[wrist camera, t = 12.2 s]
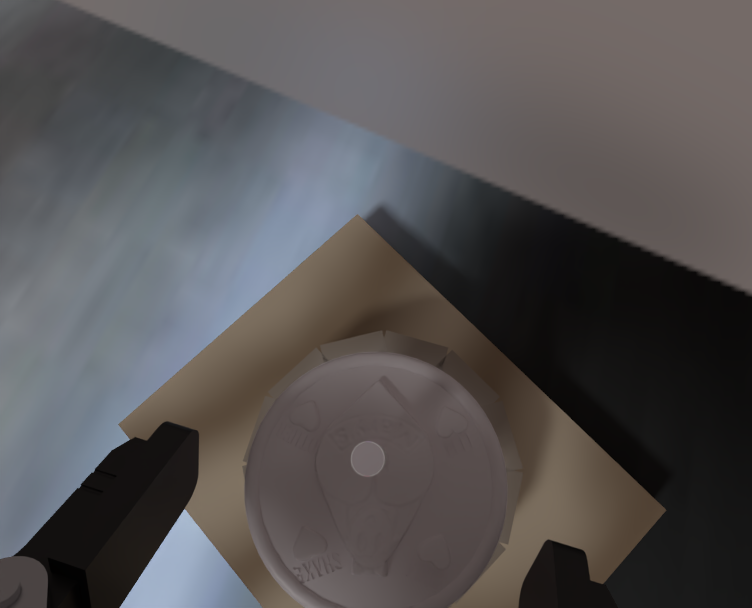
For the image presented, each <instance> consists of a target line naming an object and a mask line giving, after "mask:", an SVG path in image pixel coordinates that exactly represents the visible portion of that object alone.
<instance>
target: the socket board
mask: <svg viewBox="0 0 752 608" xmlns="http://www.w3.org/2000/svg"><path fill="white" fill-rule="evenodd" d="M362 352H389V353H397V354H402V355H406V356H410V357H413V358H417V359H419V360H422V361H424V362H427V363H429V364H431V365H433V366H435V367H437V368H439V369H440V370H442V371H443V372H445V373H446V374H448V375H450V376H451V377H452V378H453V379H455V380H456V381H457V382H458V383H460V384H461V385H462V386H463V387H464V388H465V389H466V390H467V391H468V392H469V393H470V394H471V395H472V396H473V398H474V399H475V400H476V401H477V402H478V404H479V405H480V406H481V408H482V409H483V411H484V412H485V414H486V415H487V417H488V419H489V421H490V422H491V424H492V426H493V428H494V431H495V433H496V435H497V437H498V440H499V443H500V446H501V449H502V453H503V457H504V461H505V466H506V473H507V485H508V495H507V508H506V516H505V521H504V525H503V530H502V533H501V536H500V539H499V542H498V544H497V547H496V549H495V551H494V554H493V556H492V558H491V559H490V561H489V563H488V565H487V566H486V568H485V570H484V571H483V572H482V574H481V575H480V577H479V578H478V580H477V581H476V582H475V583H474V584H473V585H472V586H471V588H470V589H469V590H468V591H467V592H466V593H465V594H464V595H463V596H461V597H460V598H459V599H458V600H457V601H456V602H454V603H453V604H452V605H450V606H449V607H448V608H519V597H520V592H521V587H522V584H523V581H524V579H525V577H526V575H527V573H528V571H529V570H530V568H531V566H532V564H533V562H534V560H535V559H536V557H537V555H538V553H539V551H540V549H541V548H542V546H543V544H544V542H545V541H546V540H548V539H549V540H553V541H556V542H559V543H562V544H566V545H569V546H572V547H575V548H579V549H582V550H584V552H585V553H586V556H587V561H588V567H589V574H590V580H591V581H595V582H598V583H601V584H603V583H604V582H605V581H606V580H607V578H608V577H609V576H610V575H611V574H612V573H613V571H614V570H615V569H616V568H617V567H618V566H619V565H620V563H621V562H622V561H623V560H624V559H625V558H626V556H627V555H628V554H629V553H630V552H631V551H632V549H633V548H634V547H635V546H636V545H637V544H638V542H639V541H640V540H641V539H642V538H643V537H644V535H645V534H646V533H647V532H648V531H649V530H650V528H651V527H652V526H653V525H654V524H655V523H656V521H657V520H658V519H659V518H660V517H661V516H662V514H663V513H664V512H665V511H666V509H665V508H664V507H662V506H661V505H660V504H659V503H658V502H657V501H656V500H655V499H654V498H653V497H652V496H651V495H650V494H649V493H648V492H647V491H646V490H645V489H644V488H643V487H642V486H641V485H640V484H638V483H637V482H636V481H635V480H634V479H633V478H632V477H631V476H630V475H629V474H628V473H627V472H626V471H625V470H624V469H623V468H622V467H621V466H620V465H619V464H618V463H617V462H616V461H614V460H613V459H612V458H611V457H610V456H609V455H608V454H607V453H606V452H605V451H604V450H603V449H602V448H601V447H600V446H599V445H598V444H597V443H596V442H595V441H594V440H593V439H592V438H590V437H589V436H588V435H587V434H586V433H585V432H584V431H583V430H582V429H581V428H580V427H579V426H578V425H577V424H576V423H575V422H574V421H573V420H572V419H571V418H570V417H569V416H568V415H566V414H565V413H564V412H563V411H562V410H561V409H560V408H559V407H558V406H557V405H556V404H555V403H554V402H553V401H552V400H551V399H550V398H549V397H548V396H547V395H546V394H545V393H544V392H542V391H541V390H540V389H539V388H538V387H537V386H536V385H535V384H534V383H533V382H532V381H531V380H530V379H529V378H528V377H527V376H526V375H525V374H524V373H523V372H522V371H521V370H520V369H518V368H517V367H516V366H515V365H514V364H513V363H512V362H511V361H510V360H509V359H508V358H507V357H506V356H505V355H504V354H503V353H502V352H501V351H500V350H499V349H498V348H497V347H496V346H494V345H493V344H492V343H491V342H490V341H489V340H488V339H487V338H486V337H485V336H484V335H483V334H482V333H481V332H480V331H479V330H478V329H477V328H476V327H475V326H474V325H473V324H472V323H470V322H469V321H468V320H467V319H466V318H465V317H464V316H463V315H462V314H461V313H460V312H459V311H458V310H457V309H456V308H455V307H454V306H453V305H452V304H451V303H450V302H449V301H448V300H446V299H445V298H444V297H443V296H442V295H441V294H440V293H439V292H438V291H437V290H436V289H435V288H434V287H433V286H432V285H431V284H430V283H429V282H428V281H427V280H426V279H425V278H424V277H423V276H421V275H420V274H419V273H418V272H417V271H416V270H415V269H414V268H413V267H412V266H411V265H410V264H409V263H408V262H407V261H406V260H405V259H404V258H403V257H402V256H401V255H400V254H399V253H397V252H396V251H395V250H394V249H393V248H392V247H391V246H390V245H389V244H388V243H387V242H386V241H385V240H384V239H383V238H382V237H381V236H380V235H379V234H378V233H377V232H376V231H375V230H373V229H372V228H371V227H370V226H369V225H368V224H367V223H366V222H365V221H364V220H363V219H362V218H361V217H360V216H359V215H358V214H357V215H356V216H355V217H354V218H353V219H351V220H350V221H349V222H348V223H347V224H346V225H345V226H343V227H342V228H341V229H340V230H339V231H338V232H337V233H335V234H334V235H333V236H332V237H331V238H330V239H329V240H328V241H326V242H325V243H324V244H323V245H322V246H321V247H320V248H318V249H317V250H316V251H315V252H314V253H313V254H312V255H310V256H309V257H308V258H307V259H306V260H305V261H304V262H302V263H301V264H300V265H299V266H298V267H297V268H296V269H295V270H293V271H292V272H291V273H290V274H289V275H288V276H287V277H285V278H284V279H283V280H282V281H281V282H280V283H279V284H277V285H276V286H275V287H274V288H273V289H272V290H271V291H270V292H268V293H267V294H266V295H265V296H264V297H263V298H262V299H260V300H259V301H258V302H257V303H256V304H255V305H254V306H252V307H251V308H250V309H249V310H248V311H247V312H246V313H244V314H243V315H242V316H241V317H240V318H239V319H238V320H237V321H235V322H234V323H233V324H232V325H231V326H230V327H229V328H227V329H226V330H225V331H224V332H223V333H222V334H221V335H219V336H218V337H217V338H216V339H215V340H214V341H213V342H211V343H210V344H209V345H208V346H207V347H206V348H205V349H204V350H202V351H201V352H200V353H199V354H198V355H197V356H196V357H194V358H193V359H192V360H191V361H190V362H189V363H188V364H186V365H185V366H184V367H183V368H182V369H181V370H180V371H179V372H177V373H176V374H175V375H174V376H173V377H172V378H171V379H169V380H168V381H167V382H166V383H165V384H164V385H163V386H161V387H160V388H159V389H158V390H157V391H156V392H155V393H153V394H152V395H151V396H150V397H149V398H148V399H147V400H146V401H144V402H143V403H142V404H141V405H140V406H139V407H138V408H136V409H135V410H134V411H133V412H132V413H131V414H130V415H128V416H127V417H126V418H125V419H124V420H123V421H122V422H120V423H119V424H118V425H119V426H120V427H121V429H122V430H123V431H124V432H125V434H126V435H127V436H128V437H129V439H130V440H131V439H132V438H134V437H137V438H140V439H143V440H148V439H149V437H150V436H151V435H152V434H153V433H154V432H155V430H156V429H157V428H158V427H159V426H160V425H161V424H162V423H163V422H166V421H169V422H172V423H175V424H178V425H182V426H185V427H188V428H191V429H195V430H197V431H198V432H199V473H198V480H197V484H196V487H195V490H194V493H193V495H192V497H191V499H190V501H189V502H188V504H187V506H186V507H185V510H186V511H187V512H188V513H189V515H190V516H191V517H192V518H193V520H194V521H195V522H196V523H197V525H198V526H199V527H200V529H201V530H202V531H203V532H204V534H205V535H206V536H207V537H208V539H209V540H210V541H211V542H212V544H213V545H214V546H215V547H216V549H217V550H218V551H219V553H220V554H221V555H222V556H223V558H224V559H225V560H226V561H227V563H228V564H229V565H230V566H231V568H232V569H233V570H234V572H235V573H236V574H237V575H238V577H239V578H240V579H241V580H242V582H243V583H244V584H245V585H246V587H247V588H248V589H249V590H250V592H251V593H252V594H253V596H254V597H255V598H256V599H257V601H258V602H259V603H260V604H261V606H262V607H263V608H305V607H303V606H302V605H300V604H299V603H298V602H297V601H295V600H294V599H293V598H292V597H291V596H290V595H289V594H287V593H286V592H285V591H284V590H283V589H282V588H281V586H280V585H279V584H278V583H277V582H276V580H275V579H274V578H273V577H272V575H271V574H270V572H269V571H268V569H267V568H266V566H265V565H264V563H263V561H262V559H261V557H260V556H259V554H258V551H257V549H256V547H255V544H254V542H253V539H252V536H251V533H250V530H249V525H248V521H247V516H246V509H245V499H244V483H245V472H246V465H247V460H248V456H249V452H250V448H251V445H252V442H253V440H254V437H255V434H256V432H257V430H258V428H259V426H260V424H261V422H262V420H263V418H264V417H265V415H266V413H267V412H268V410H269V409H270V407H271V406H272V405H273V403H274V402H275V401H276V400H277V398H278V397H279V396H280V395H281V394H282V393H283V392H284V391H285V390H286V389H287V388H288V387H289V386H290V385H291V384H292V383H293V382H294V381H296V380H297V379H298V378H299V377H301V376H302V375H304V374H305V373H307V372H308V371H310V370H311V369H313V368H315V367H317V366H319V365H321V364H323V363H325V362H327V361H330V360H332V359H335V358H338V357H342V356H345V355H350V354H355V353H362Z"/></svg>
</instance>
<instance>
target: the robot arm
mask: <svg viewBox="0 0 752 608" xmlns="http://www.w3.org/2000/svg"><path fill="white" fill-rule="evenodd" d="M198 473H199V432H198V431H197V430H195V429H191V428H188V427H185V426H182V425H178V424H175V423H172V422H169V421H166V422H163V423H162V424H161V425H160V426H159V427H158V428H157V429H156V430H155V432H154V433H153V434H152V435H151V436H150V437H149V439H148V440H143V439H140V438H137V437H134V438H132V439H131V440H129V441H127V442H126V443H124V444H122V445H120V446H119V447H117V448H115V449H114V450H112V451H111V452H110V453H109V454H108V455H107V456H106V458H105V459H104V460H103V461H102V462H101V463H100V464H99V465H98V466H97V467H96V469H95V471H94V473H91V474H90V475H89V476H88V477H87V478H86V479H85V481H84V482H83V483H82V484H81V487H80V488H77V489H76V490H75V492H74V493H73V494H72V495H71V496H70V497H69V498H68V499H67V500H66V501H65V502H64V504H63V505H62V506H61V507H60V508H59V509H58V510H57V511H56V512H55V513H54V515H53V516H52V517H51V518H50V519H49V520H48V521H47V522H46V523H45V524H44V526H43V527H42V528H41V529H40V530H39V531H38V532H37V533H36V534H35V535H34V536H33V538H32V539H31V540H30V541H29V542H28V543H27V544H26V545H25V546H24V547H23V548H22V549H21V550H20V551H19V552H18V553H16V554H15V555H14V556H12V557H7V558H3V559H0V608H119V607H120V606H121V604H122V603H123V601H124V600H125V598H126V597H127V595H128V594H129V592H130V591H131V589H132V588H133V586H134V585H135V583H136V582H137V580H138V579H139V577H140V576H141V574H142V572H143V571H144V569H145V568H146V566H147V565H148V563H149V562H150V560H151V559H152V557H153V556H154V554H155V553H156V551H157V550H158V548H159V547H160V545H161V544H162V542H163V541H164V539H165V537H166V536H167V534H168V533H169V531H170V530H171V528H172V527H173V525H174V524H175V522H176V521H177V519H178V518H179V516H180V515H181V513H182V512H183V510H184V509H185V507H186V506H187V504H188V502H189V501H190V499H191V497H192V495H193V493H194V490H195V487H196V484H197V480H198ZM519 608H618V607H617V605H616V603H615V601H614V600H613V598H612V596H611V594H610V592H609V590H608V588H607V586H606V585H604V584H601V583H598V582H595V581H591V580H590V574H589V567H588V561H587V556H586V553H585V552H584V550H582V549H579V548H575V547H572V546H569V545H566V544H562V543H559V542H556V541H553V540H549V539H548V540H546V541H545V542H544V544H543V546H542V548H541V549H540V551H539V553H538V555H537V557H536V559H535V560H534V562H533V564H532V566H531V568H530V570H529V571H528V573H527V575H526V577H525V579H524V581H523V584H522V587H521V592H520V597H519Z"/></svg>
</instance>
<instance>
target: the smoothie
mask: <svg viewBox="0 0 752 608" xmlns="http://www.w3.org/2000/svg"><path fill="white" fill-rule="evenodd" d="M507 495H508V485H507V473H506V466H505V461H504V457H503V453H502V449H501V446H500V443H499V440H498V437H497V435H496V433H495V431H494V428H493V426H492V424H491V422H490V421H489V419H488V417H487V415H486V414H485V412H484V411H483V409H482V408H481V406H480V405H479V404H478V402H477V401H476V400H475V399H474V398H473V396H472V395H471V394H470V393H469V392H468V391H467V390H466V389H465V388H464V387H463V386H462V385H461V384H460V383H458V382H457V381H456V380H455V379H453V378H452V377H451V376H450V375H448V374H446V373H445V372H443V371H442V370H440V369H439V368H437V367H435V366H433V365H431V364H429V363H427V362H424V361H422V360H419V359H417V358H413V357H410V356H406V355H402V354H397V353H389V352H362V353H355V354H350V355H345V356H342V357H338V358H335V359H332V360H330V361H327V362H325V363H323V364H321V365H319V366H317V367H315V368H313V369H311V370H310V371H308V372H307V373H305V374H304V375H302V376H301V377H299V378H298V379H297V380H296V381H294V382H293V383H292V384H291V385H290V386H289V387H288V388H287V389H286V390H285V391H284V392H283V393H282V394H281V395H280V396H279V397H278V398H277V400H276V401H275V402H274V403H273V405H272V406H271V407H270V409H269V410H268V412H267V413H266V415H265V417H264V418H263V420H262V422H261V424H260V426H259V428H258V430H257V432H256V434H255V437H254V440H253V442H252V445H251V448H250V452H249V456H248V460H247V465H246V472H245V483H244V499H245V509H246V516H247V521H248V525H249V530H250V533H251V536H252V539H253V542H254V544H255V547H256V549H257V551H258V554H259V556H260V557H261V559H262V561H263V563H264V565H265V566H266V568H267V569H268V571H269V572H270V574H271V575H272V577H273V578H274V579H275V580H276V582H277V583H278V584H279V585H280V586H281V588H282V589H283V590H284V591H285V592H286V593H287V594H289V595H290V596H291V597H292V598H293V599H294V600H295V601H297V602H298V603H299V604H300V605H302V606H303V607H305V608H448V607H449V606H450V605H452V604H453V603H454V602H456V601H457V600H458V599H459V598H460V597H461V596H463V595H464V594H465V593H466V592H467V591H468V590H469V589H470V588H471V586H472V585H473V584H474V583H475V582H476V581H477V580H478V578H479V577H480V575H481V574H482V572H483V571H484V570H485V568H486V566H487V565H488V563H489V561H490V559H491V558H492V556H493V554H494V551H495V549H496V547H497V544H498V542H499V539H500V536H501V533H502V530H503V525H504V521H505V516H506V508H507Z"/></svg>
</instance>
